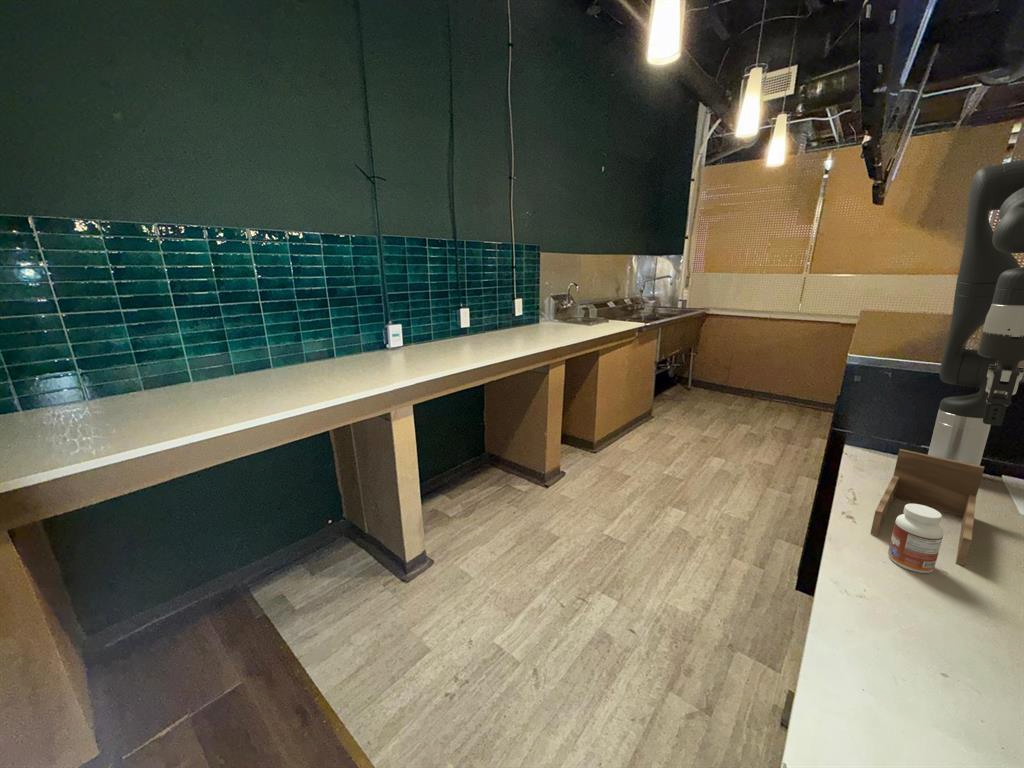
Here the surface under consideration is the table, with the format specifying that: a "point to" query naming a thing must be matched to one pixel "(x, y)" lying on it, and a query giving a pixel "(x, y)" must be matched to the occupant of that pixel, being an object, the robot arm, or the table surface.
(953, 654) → the table surface
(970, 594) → the table surface
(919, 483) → the open-sided box
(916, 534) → the pill bottle
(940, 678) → the table surface
